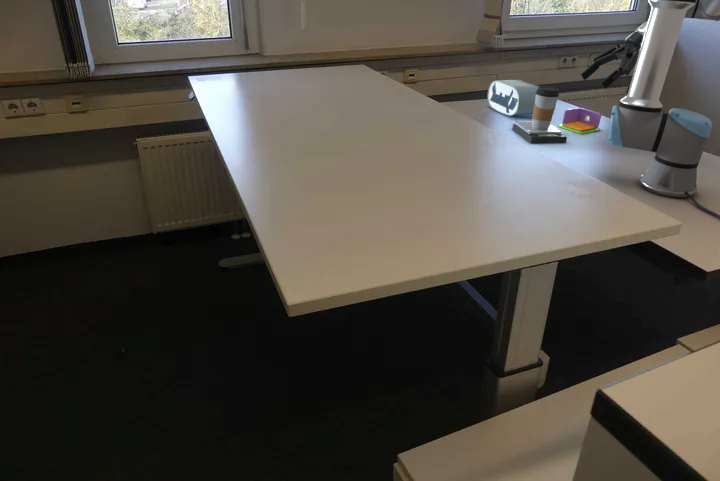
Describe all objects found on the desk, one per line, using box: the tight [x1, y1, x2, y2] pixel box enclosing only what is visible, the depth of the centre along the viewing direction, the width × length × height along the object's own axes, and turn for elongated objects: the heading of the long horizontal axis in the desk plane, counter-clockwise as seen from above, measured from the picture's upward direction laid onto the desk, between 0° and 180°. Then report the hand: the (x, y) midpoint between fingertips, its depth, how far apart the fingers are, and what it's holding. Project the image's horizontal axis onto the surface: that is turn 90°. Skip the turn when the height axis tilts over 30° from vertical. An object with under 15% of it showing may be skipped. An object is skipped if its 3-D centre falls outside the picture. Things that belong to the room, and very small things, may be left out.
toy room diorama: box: [558, 107, 602, 135], centre depth 213 cm, size 12×12×7 cm
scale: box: [511, 121, 568, 145], centre depth 203 cm, size 17×14×3 cm
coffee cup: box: [531, 85, 560, 130], centre depth 198 cm, size 8×8×15 cm
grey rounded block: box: [486, 79, 539, 117], centre depth 230 cm, size 22×19×13 cm
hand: (592, 81), depth 193 cm, fingers open, 13 cm apart
